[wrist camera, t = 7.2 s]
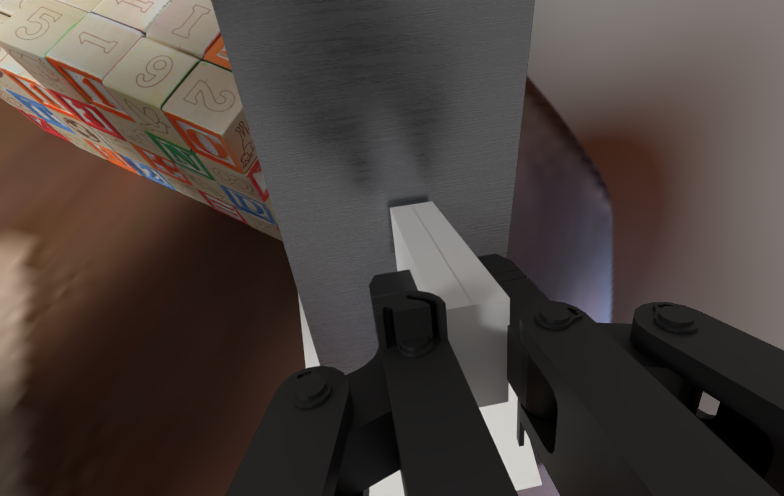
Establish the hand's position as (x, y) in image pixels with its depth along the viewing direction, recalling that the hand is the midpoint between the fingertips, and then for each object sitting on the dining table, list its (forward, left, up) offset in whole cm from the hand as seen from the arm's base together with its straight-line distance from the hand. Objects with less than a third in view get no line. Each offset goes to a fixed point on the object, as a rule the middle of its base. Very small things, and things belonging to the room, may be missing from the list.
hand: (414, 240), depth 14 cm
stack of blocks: (-19, +6, -13) cm, 24 cm away
